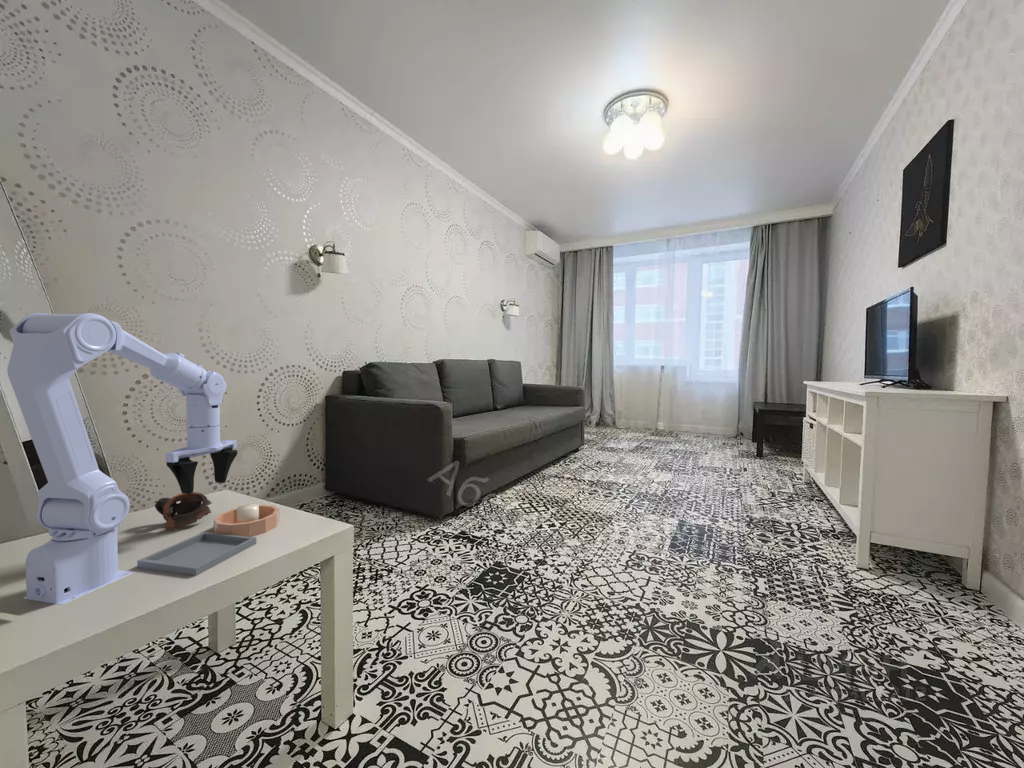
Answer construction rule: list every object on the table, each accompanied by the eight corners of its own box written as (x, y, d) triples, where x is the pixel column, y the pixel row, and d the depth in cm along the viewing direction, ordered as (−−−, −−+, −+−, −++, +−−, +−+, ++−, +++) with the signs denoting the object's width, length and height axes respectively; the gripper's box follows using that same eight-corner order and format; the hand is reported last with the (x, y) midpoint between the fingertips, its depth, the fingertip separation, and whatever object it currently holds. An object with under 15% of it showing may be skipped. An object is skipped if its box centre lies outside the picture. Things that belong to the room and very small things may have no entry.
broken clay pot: (223, 516, 95) (221, 492, 91) (193, 549, 87) (189, 525, 83) (172, 504, 94) (167, 480, 90) (137, 537, 86) (130, 511, 82)
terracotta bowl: (248, 544, 80) (248, 527, 79) (200, 538, 82) (200, 521, 82) (290, 522, 91) (290, 507, 91) (247, 517, 93) (247, 503, 93)
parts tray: (196, 579, 66) (196, 568, 66) (137, 570, 69) (137, 560, 69) (256, 546, 79) (256, 537, 79) (204, 540, 81) (204, 531, 81)
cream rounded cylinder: (248, 531, 84) (248, 511, 84) (232, 529, 85) (232, 509, 85) (263, 524, 88) (263, 504, 88) (248, 522, 89) (248, 503, 88)
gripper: (185, 432, 77) (186, 499, 78) (247, 422, 91) (248, 479, 92) (156, 430, 78) (157, 497, 79) (222, 420, 93) (222, 477, 93)
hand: (204, 487), depth 86 cm, fingers open, 7 cm apart
